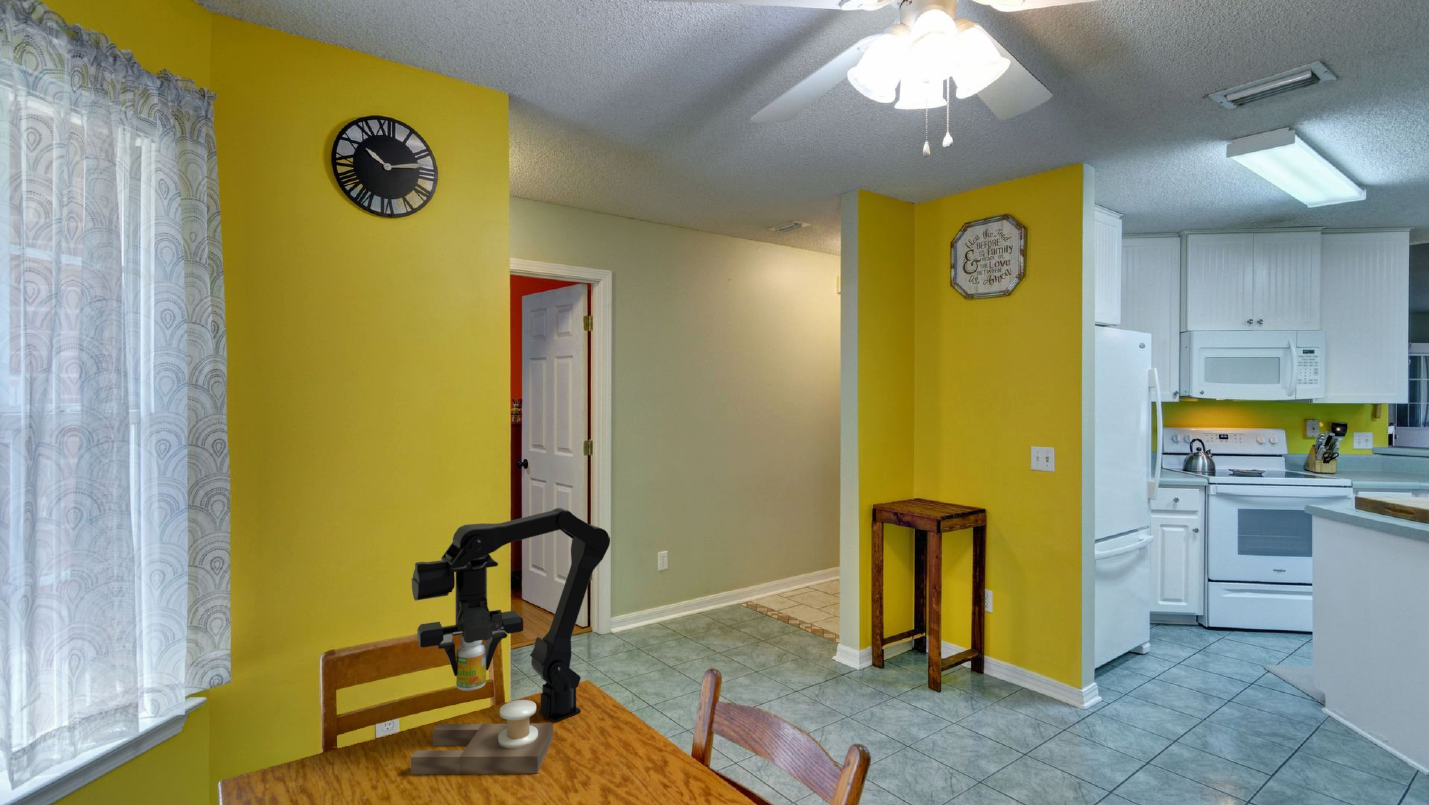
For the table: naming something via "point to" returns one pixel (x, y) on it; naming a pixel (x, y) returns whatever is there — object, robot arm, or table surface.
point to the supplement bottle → (471, 665)
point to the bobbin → (518, 725)
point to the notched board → (480, 751)
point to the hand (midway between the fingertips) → (471, 672)
